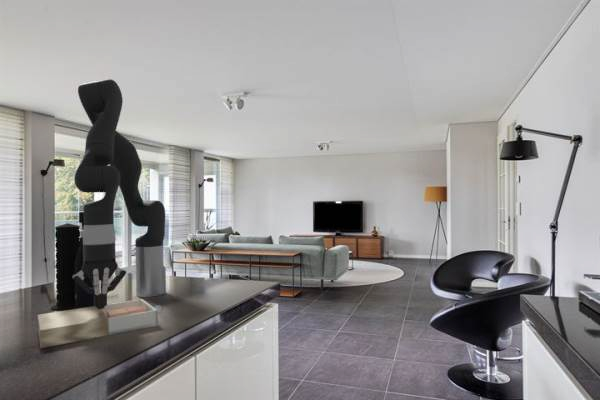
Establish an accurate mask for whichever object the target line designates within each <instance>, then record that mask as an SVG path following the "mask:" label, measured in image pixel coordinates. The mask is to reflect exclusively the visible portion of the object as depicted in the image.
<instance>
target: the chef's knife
mask: <svg viewBox="0 0 600 400" xmlns="http://www.w3.org/2000/svg"><path fill="white" fill-rule="evenodd" d="M153 307H154V308H155V309H156V310H157V315H159V314H161V313H162V309H163V307H162V306H161V305H159V304H157V305H155V306H153Z"/></svg>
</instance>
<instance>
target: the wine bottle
mask: <svg viewBox="0 0 600 400" xmlns="http://www.w3.org/2000/svg"><path fill="white" fill-rule="evenodd" d="M78 222H79V224H81V231H80V237H79V238H80V240H79V241H80V247H79V250H78V253H77V256H76V261H75V274H77V273H78V272H80V271H81V267H82V265H83V229H84V211H79V212H78ZM83 276H84V280H83V281H84V282H85V283H86V284H87V285H88V286H89V287H90V288H93V284H92V281H91V280H90V279H89V278H88V277H87V276H86V275H85V274H83ZM75 303H76V309H79V308H86V307H92V306H95V305H94V294H88V293H87V292H86V291H85V290H84V289H83V288H82V287H81V286H80V285H79V284H78V283H77V282H76V281H75Z"/></svg>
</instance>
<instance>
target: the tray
mask: <svg viewBox="0 0 600 400" xmlns="http://www.w3.org/2000/svg"><path fill="white" fill-rule="evenodd" d="M142 305H143V306H144V307H145V308H146V312H141V313H136V314H130V315H124V316H118V317H112V318H108V319H109V335H108V336H110V335H111V334H112V335H117V334H121V333H122V334H123V333H127V332H132V331H137V330H141V329H143V330H144V329H148V328H152V327H158V325H159V323H158V322H159V321H158V314H157V310H156V309H155V308H154V307H155V306H152V305H151V304H150V303H148V302H147V301H145V300H144V299H142V298H140V299H133V300H127V301H121V302H113V303H107V305H106V306H104V309H101V310H102V311H103V312H104V314H105V315H106V316H107V311H110V310H117V309H123V308H129V307H135V306H142Z"/></svg>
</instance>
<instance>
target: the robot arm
mask: <svg viewBox="0 0 600 400" xmlns="http://www.w3.org/2000/svg"><path fill="white" fill-rule="evenodd" d="M77 94H78V97H79V100H80V103H81V106H82V107H83V110H84V111H85V114H86V115H87V117H88V120H89V122H90V123H91V125H92V126H91V127H90V129H89V130H88V132H87V135H86V139H85V148H84V149H85V150H84V154H83V157H82V160H81V161H80V163H79V165H78V166H77V168H76V171H75V174H74V185H75V187H76V188H77V190H78V191H80V192H82V193H105V194H104V197H102V198H101V199H98V200H94V201H90V202H89V201H88V202H86V203H85V204H84V205H83V212H84V229H83V230H82V231H83V265H82V267H81V271H80V272H78V273H77V274H75V275H73V279H74V280H75V281H76V282H77V283H78V284H79V285H80V286H81V287H82V288H83V289H84V290H85V291H86V292H87V293H88V294H94V305H95V307H97V309H104V306H106V305H107V304H108V293H109V292H112V291H114V290H115V289H116V287H118V285H119V284H120V282H121V281H122V280H123V279H124V277H125V275H126V274H127V271H126V270H125V269H122V268H120V267H119V264H118V262H117V261H116V259H117V258H116V241H117V239H116V231H115V224H114V223H115V218H114V217H115V216H114V213H115V212H114V210H115V209H114V207H115V200H116V196H117V192H118V190H119V189H120V192H121V194H122V198H123V200H124V204H125V208H126V211H127V213H128V217H129V219H130V221H131V223H132V224H133V225H135V227H143V228H144V227H147V230H146V232H145V234H143V235H142V236H139V237H137V238H136V239H135V243H134V244H135V276H136V277H135V286H136V287H135V290H136V291H135V292H136V297H138V298H152V297H157V296H158V297H159V296H162V295H166V294H167V283H166V282H167V280H166V278H167V274H166V266H164V265H165V263H164V262H165V261H164V258H165V257H164V240H165V235H166V234H165V233H166V209H165V205H164V204H163V202H162V201H160V200H155V199H154V200H152V199H151V200H143V198H142V196H141V194H140V190H139V181H140V178H141V175H142V170H143V168H142V167H143V165H142V162H141V158H140V156H139V154H138V152H137V151H138V150H137V148H136V146H135V145H134V144H133V143H132V141H130V140H128V139H127V137H125V136H123V134H121V133H120V132H119V131H117V126H118V123H119V120H120V116H121V112H122V108H123V103H124V102H123V101H124V100H123V94H122V91H121V88H120V86H119V85H118V83H117V82H116V81H115V80H114V79H111V78H110V79H109V78H107V79H100V80H95V81H90V82H85V83H82V84H79V86H78V88H77ZM83 274H85V275H86V276H87V277H88V278H89V279H90V280H91V281H92V284H93V288H90V287H89V286H88V285H87V284H86V283H85V282H84V281H83V280H84V276H83ZM113 275H115V276H114V278H112V276H113ZM111 278H112V281H110V283H109V280H110V279H111Z"/></svg>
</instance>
